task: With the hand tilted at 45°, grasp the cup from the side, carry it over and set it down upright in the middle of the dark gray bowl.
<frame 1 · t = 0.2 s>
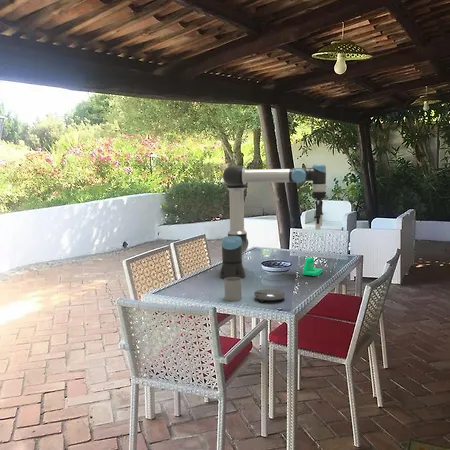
hand: (318, 227, 287), 28 cm above the table, tool pointing down, fingers open, 13 cm apart
camera mount: (312, 275, 292), on the table
cup: (233, 298, 246), on the table
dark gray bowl: (269, 299, 243), on the table
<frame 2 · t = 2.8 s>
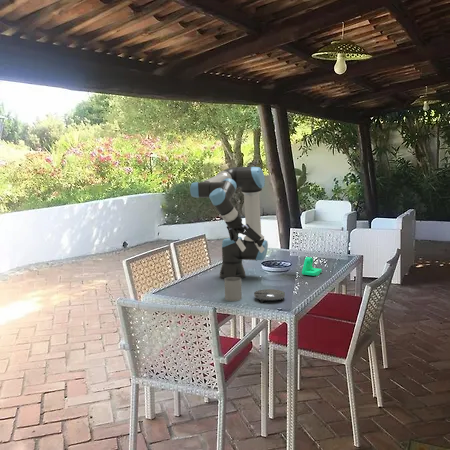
hand: (253, 250, 242), 24 cm above the table, tool tilted 35°, fingers open, 13 cm apart
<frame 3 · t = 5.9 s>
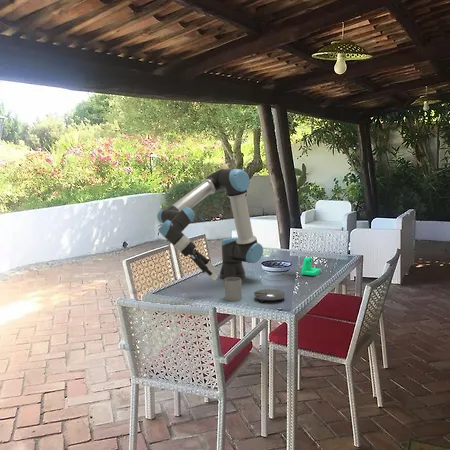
hand: (216, 275, 244), 12 cm above the table, tool tilted 45°, fingers open, 13 cm apart
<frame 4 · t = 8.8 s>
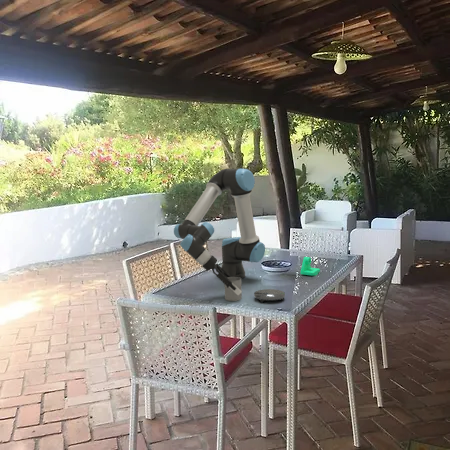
hand: (239, 291, 246), 4 cm above the table, tool tilted 45°, fingers closed on cup, 8 cm apart
cup: (233, 298, 246), on the table, touching gripper
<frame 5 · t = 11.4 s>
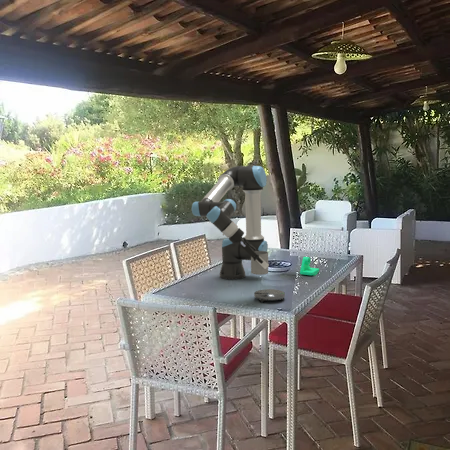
hand: (266, 265, 240), 17 cm above the table, tool tilted 45°, fingers closed on cup, 8 cm apart
cup: (259, 273, 241), point 13 cm above the table, touching gripper
when the fingers open (8 cm above the table, at t = 14.0 s): cup drops 1 cm, resting on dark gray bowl.
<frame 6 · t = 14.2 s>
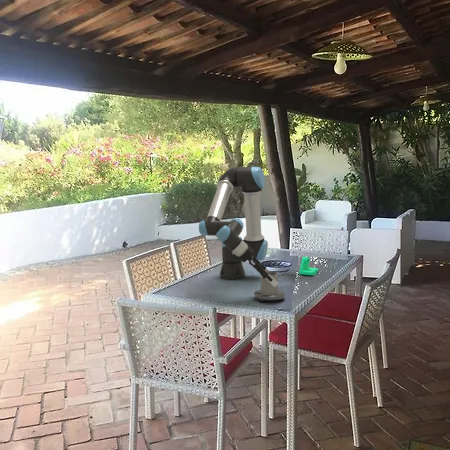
hand: (275, 281, 242), 9 cm above the table, tool tilted 45°, fingers open, 11 cm apart
cup: (269, 293, 243), point 3 cm above the table, touching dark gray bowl
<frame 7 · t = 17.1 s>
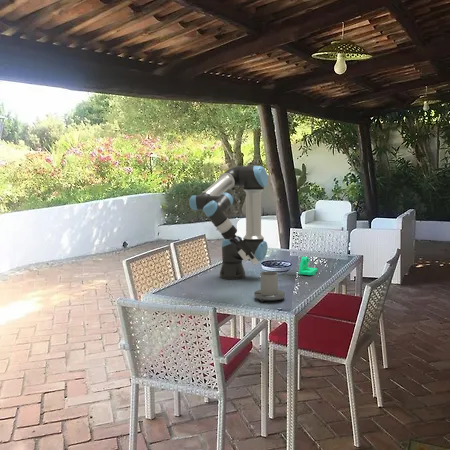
hand: (251, 261, 246), 18 cm above the table, tool tilted 35°, fingers open, 13 cm apart
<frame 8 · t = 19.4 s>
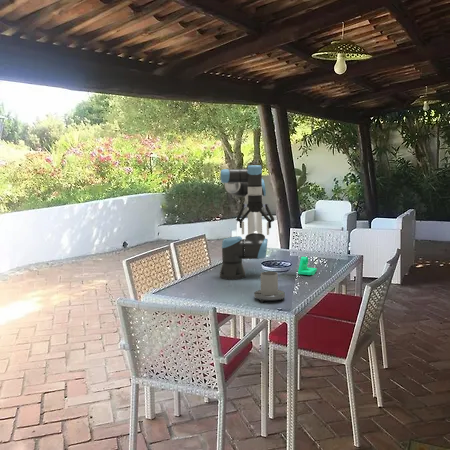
hand: (255, 234, 263), 29 cm above the table, tool pointing down, fingers open, 13 cm apart
at the end: cup inside the target area on the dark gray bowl (0.1 cm from its centre), point 2.8 cm above the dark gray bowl's base; cup tilted 0°; the gripper is holding nothing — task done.
